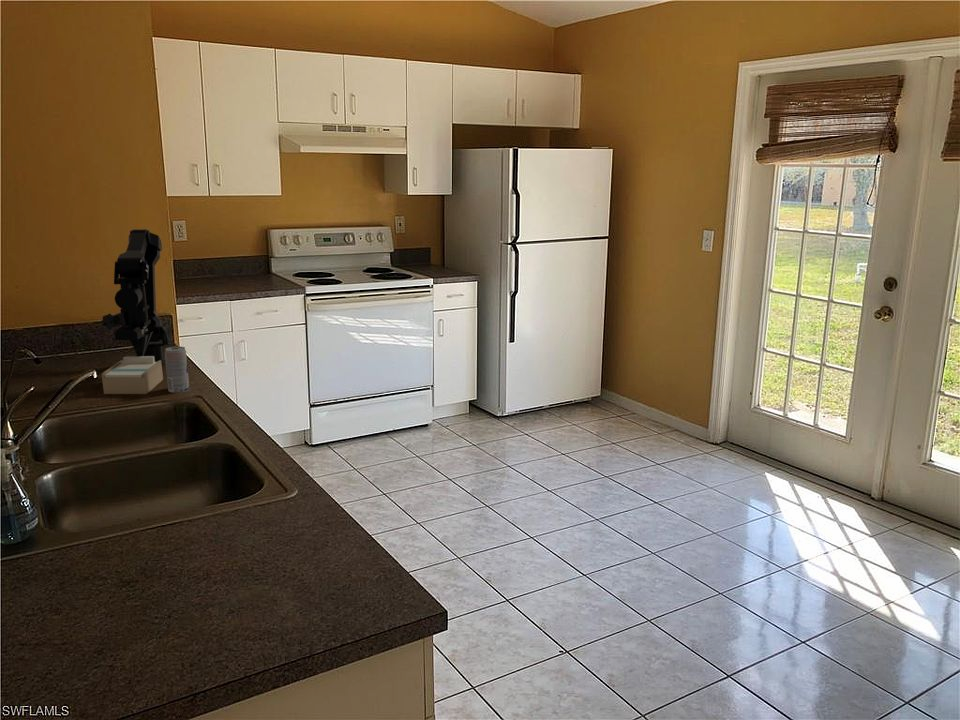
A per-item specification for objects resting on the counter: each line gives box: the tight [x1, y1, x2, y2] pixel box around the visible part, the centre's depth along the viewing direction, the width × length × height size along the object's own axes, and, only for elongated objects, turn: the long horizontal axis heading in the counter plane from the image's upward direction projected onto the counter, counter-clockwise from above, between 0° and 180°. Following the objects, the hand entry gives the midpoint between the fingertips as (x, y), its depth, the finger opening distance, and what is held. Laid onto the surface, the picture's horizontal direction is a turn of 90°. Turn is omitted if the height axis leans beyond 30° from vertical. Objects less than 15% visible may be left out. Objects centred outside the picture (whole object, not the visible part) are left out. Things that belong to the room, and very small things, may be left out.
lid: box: [105, 355, 157, 378], centre depth 209 cm, size 13×9×2 cm
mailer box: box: [101, 359, 164, 395], centre depth 210 cm, size 13×11×6 cm
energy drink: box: [164, 346, 190, 394], centre depth 208 cm, size 5×5×12 cm
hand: (140, 357), depth 215 cm, fingers closed
